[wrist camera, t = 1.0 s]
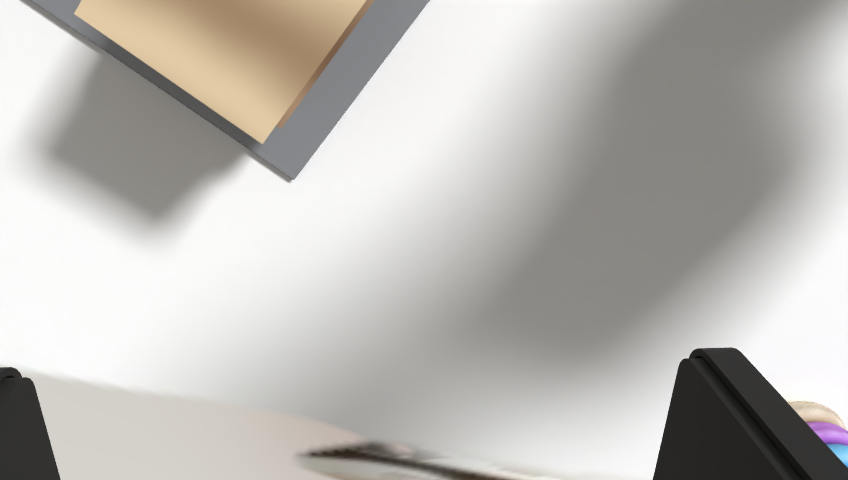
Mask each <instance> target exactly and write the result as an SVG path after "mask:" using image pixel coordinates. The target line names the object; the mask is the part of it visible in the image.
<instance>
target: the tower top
mask: <svg viewBox="0 0 848 480" xmlns="http://www.w3.org/2000/svg"><path fill="white" fill-rule="evenodd" d="M365 2H366V0H82V1H81V2H80V4H79V6H78V7H77V9H76V11H75V13H74V14H75V15H76V16H78V17H79V18H81V19H82V20H84V21H85V22H87V23H88V24H89V25H91V26H92V27H94V28H95V29H97V30H98V31H100V32H101V33H102V34H104V35H105V36H107V37H108V38H110V39H111V40H113V41H114V42H116V43H117V44H118V45H120V46H121V47H123V48H124V49H126V50H127V51H129V52H130V53H131V54H133V55H134V56H136V57H137V58H139V59H140V60H142V61H143V62H144V63H146V64H147V65H149V66H150V67H152V68H153V69H155V70H156V71H157V72H159V73H160V74H162V75H163V76H165V77H166V78H168V79H169V80H170V81H172V82H173V83H175V84H176V85H178V86H179V87H181V88H182V89H183V90H185V91H186V92H188V93H189V94H191V95H192V96H194V97H195V98H196V99H198V100H199V101H201V102H202V103H204V104H205V105H207V106H208V107H209V108H211V109H212V110H214V111H215V112H217V113H218V114H220V115H221V116H222V117H224V118H225V119H227V120H228V121H230V122H231V123H233V124H234V125H235V126H237V127H238V128H240V129H241V130H243V131H244V132H246V133H247V134H248V135H250V136H251V137H253V138H254V139H256V140H257V141H259V142H260V143H261V144H263V143H264V141H265V140H266V139H267V137H268V136H269V135H270V133H271V132H272V130H273V129H274V128H275V126H276V125H277V123H278V122H279V121H280V119H281V118H282V116H283V115H284V114H285V112H286V111H287V110H288V108H289V107H290V105H291V104H292V103H293V101H294V100H295V98H296V97H297V96H298V94H299V93H300V92H301V90H302V89H303V87H304V86H305V85H306V83H307V82H308V80H309V79H310V78H311V76H312V75H313V74H314V72H315V71H316V69H317V68H318V67H319V65H320V64H321V62H322V61H323V60H324V58H325V57H326V56H327V54H328V53H329V51H330V50H331V49H332V47H333V46H334V44H335V43H336V42H337V40H338V39H339V38H340V36H341V35H342V33H343V32H344V31H345V29H346V28H347V26H348V25H349V24H350V22H351V21H352V20H353V18H354V17H355V15H356V14H357V13H358V11H359V10H360V8H361V7H362V6H363V4H364V3H365Z"/></svg>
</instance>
